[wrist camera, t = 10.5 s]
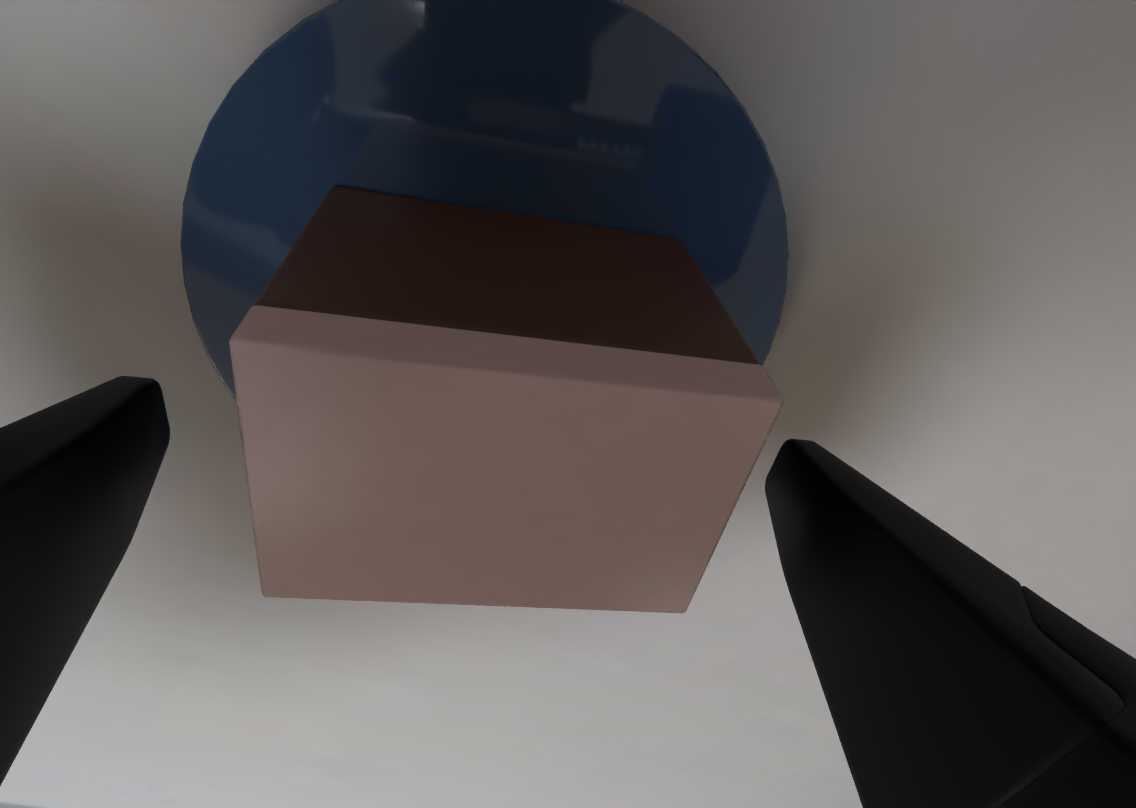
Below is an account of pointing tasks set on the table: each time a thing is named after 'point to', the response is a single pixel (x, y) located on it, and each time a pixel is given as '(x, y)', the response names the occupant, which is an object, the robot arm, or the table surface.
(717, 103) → the plate
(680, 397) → the cake slice
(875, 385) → the table surface
